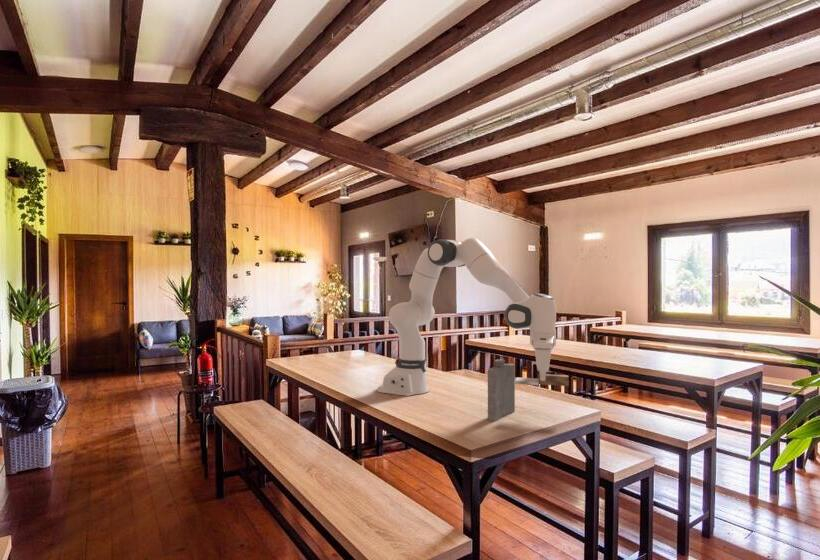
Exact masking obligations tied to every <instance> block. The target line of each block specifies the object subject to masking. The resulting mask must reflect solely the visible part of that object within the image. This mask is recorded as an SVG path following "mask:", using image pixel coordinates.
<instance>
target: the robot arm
mask: <svg viewBox="0 0 820 560" xmlns="http://www.w3.org/2000/svg"><path fill="white" fill-rule="evenodd" d="M464 266H465V267H466V269H467V270H468V271H469V272H470V274H471V275H472V277H473V278H475V280H477V281H478V282H479V283H481V284H483V285H485V286H489V287H490V286H491V287H493V288H496V289H499V290H500V291H502V292H503V293H505V295H506V296H507V297H508V298H509V299H510V300H511V301H512V302H513V303H511V304H509V305H508V306H507V307H506V309H505V312H504V319H505V322H506V324H507V325H508V326H509V327H510V328H512V329H516V330H520V329H529V345H530V346H532V348H533V350H534V353H535V363H536V370H537V372H539V374H540V380H541V381H545V379H546V374H547V372H549V370H550V362H551V353H552V351H553V349H554V347H555V346H557V330H556V322H557V306H556V301H555V299H554V297H553V296H552V295H549V294H545V293H532V294H531V295H529V293H528V292H527V291H526V290H525V289H524V288H523V287H522V285H521V284H520V283H519V282H518V281H517V280H516V279H515V278H514V277H513V276H512V275H511V273H509V272H508V271H507V269H505V267H504V266H503V265H502V264H501V263H500V261H498V259H497V258H496V257H495V255H494V254H493V253H492V252H491V250H489V248H488V247H487V246H486V245H485V244H484V243H483V242H482V241H481V240H480V239H478V238H476V237H469V238H466V239H465V240H463V241H459V240H456V239H437V240H434V241H432V242H431V243H430V244H429V246H428V247H427V248H425V249H424V250H423V251H422V252H421V254H420V256H419V258H418V260H417V262H416V264H415V266H414V270H413V271H412V272H413V273H412V275H411V278H410V281H409V284H408V287H409V290H410V291H411V295H410V296H411V297H410V300H409V301H406V302H404V301H403V302H399V303H397V304H394V305H393V306H392V307H391V308H390V309H389V312H388V319H389V322H390V324H391V325H392V326H393V327H394V329H395V330H396V333H397V336H398V340H399V357H397V359H395V361H394V363H395V367H393V368H392V369H391V370H389V372H387V373H385V375H384V376H383V380H382V384H381V385H379V386H378V387H377V392H378V393H382V394H383V393H384V394H390V395H391V394H392V395H398V396H406V397H407V396H414V395H421V394H426V393H428V392H429V391H430V388H429V385H428V381H427V380H428V379H427V372H426V371H427V358H426V341H425V338H424V337H422V335H421V333H420V329H419V326H425V325H427V324H429V323H431V322H432V321H433V319H434V317H435V315H436V313H435V312H436V311H435V308H434V306H433V298H434V294H435V293H434V292H435V290H436V287H437V284H438V282H439V281H438V280H439V278H440V276H441V275H440V274H441V272H442V271H443V269H444V268H453V267H455V268H456V267H457V268H460V267H464Z"/></svg>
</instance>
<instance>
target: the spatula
mask: <svg viewBox="0 0 820 560" xmlns="http://www.w3.org/2000/svg"><path fill="white" fill-rule="evenodd" d="M569 380H570V379H569V374H568V375H566V374H551V373H546V379H545V381H541V380H540V373H538V378H534V377H516V376H515V385H524V386H525V385H526V386H527V385H530V386H539V385H544V386H545V385H546V386H561V387H570V385H569V383H570V381H569Z"/></svg>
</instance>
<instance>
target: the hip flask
mask: <svg viewBox="0 0 820 560" xmlns="http://www.w3.org/2000/svg"><path fill="white" fill-rule="evenodd" d="M505 362H506V360H505V359H495V360H494V364H495V366H493V367H491V368H488V369H487V420H488V421H489V420H490V422H496V421H498V420H500V419H501V418H503V417H504V416H507V415H509V414H512V413H515V412H516V405H515V404H516V400H515V399H516V396H515V395H516V394H515V393H516V389H515V387H516V384H515V379H516V376H515V373H516V372H515V371H516V370H515V366H516V365H515V363H505Z"/></svg>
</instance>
